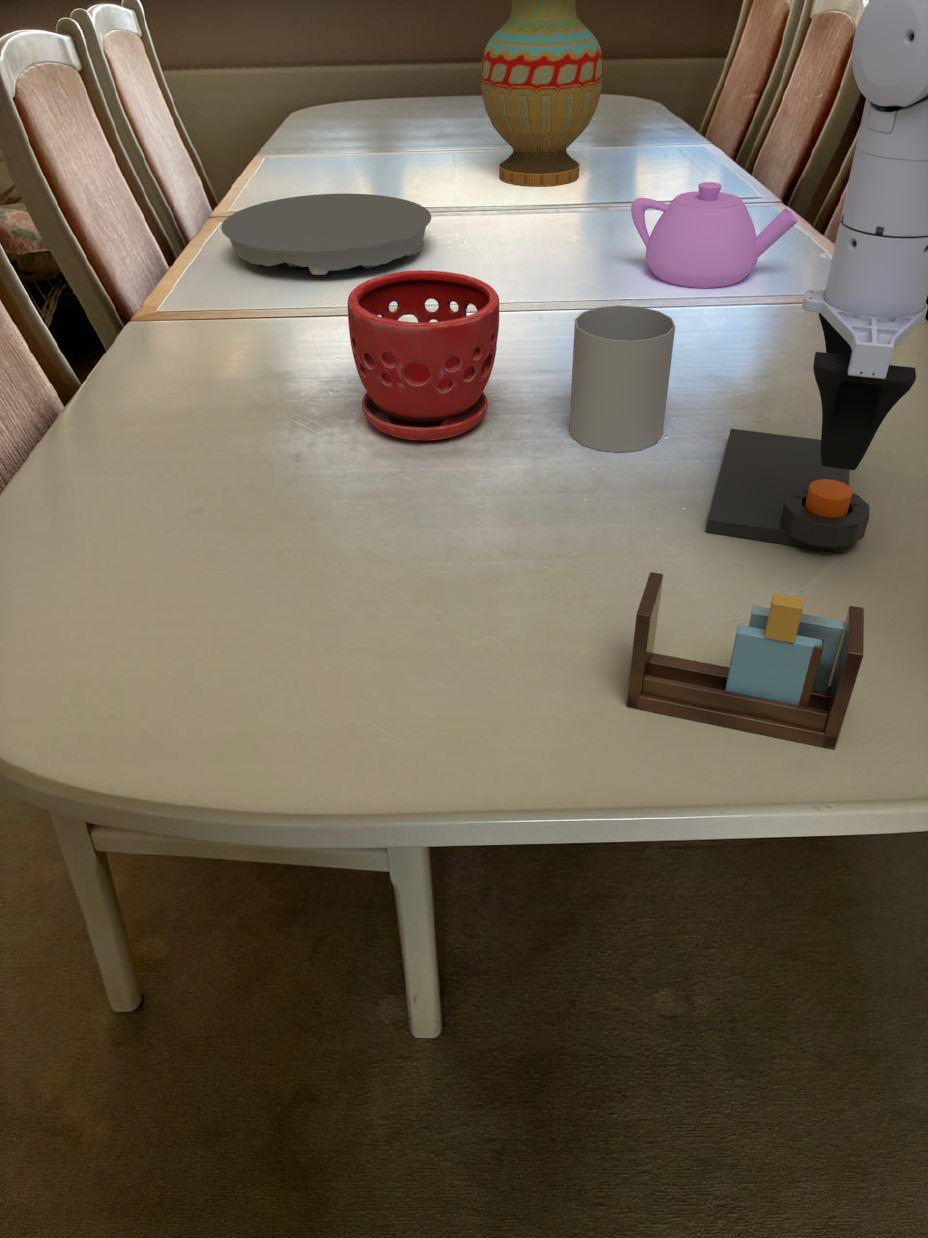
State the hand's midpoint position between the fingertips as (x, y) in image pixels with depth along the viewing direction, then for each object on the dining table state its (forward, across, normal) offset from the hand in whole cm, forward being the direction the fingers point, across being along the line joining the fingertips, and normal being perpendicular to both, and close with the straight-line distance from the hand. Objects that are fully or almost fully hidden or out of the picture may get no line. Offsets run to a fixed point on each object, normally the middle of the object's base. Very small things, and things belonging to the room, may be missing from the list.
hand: (839, 439), depth 63 cm
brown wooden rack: (+10, +17, -4) cm, 20 cm away
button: (+7, -4, +1) cm, 8 cm away
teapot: (+10, -64, -15) cm, 67 cm away
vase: (+11, -110, -49) cm, 120 cm away
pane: (+9, +18, -2) cm, 20 cm away
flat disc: (+10, -60, -65) cm, 89 cm away
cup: (+10, -17, -18) cm, 27 cm away
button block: (+10, -10, -3) cm, 15 cm away
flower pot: (+10, -14, -35) cm, 39 cm away
